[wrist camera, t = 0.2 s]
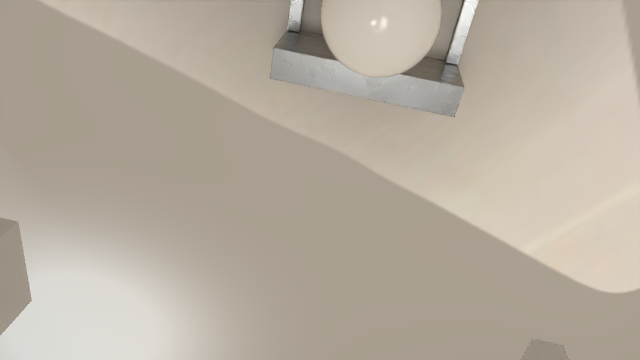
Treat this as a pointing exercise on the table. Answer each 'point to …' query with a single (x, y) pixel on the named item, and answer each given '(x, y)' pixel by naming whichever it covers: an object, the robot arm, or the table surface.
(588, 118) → the table surface
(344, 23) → the lightbulb
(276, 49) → the housing
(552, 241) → the table surface
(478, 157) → the table surface
